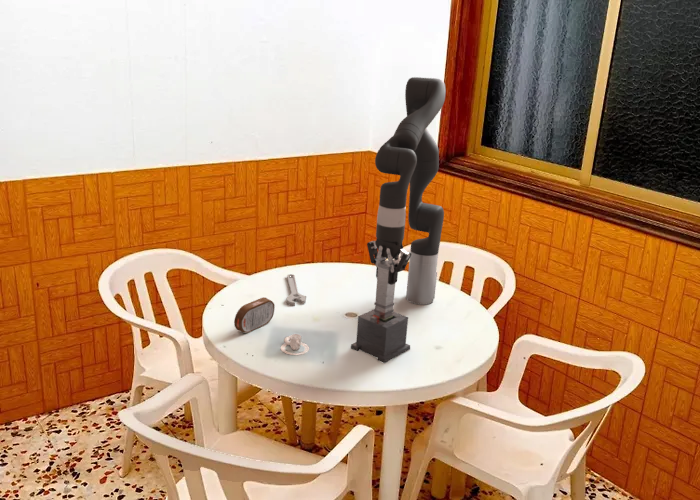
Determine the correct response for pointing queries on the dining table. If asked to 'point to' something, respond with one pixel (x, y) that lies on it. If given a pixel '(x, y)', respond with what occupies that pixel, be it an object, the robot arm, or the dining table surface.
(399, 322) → the housing
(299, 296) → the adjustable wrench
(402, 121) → the robot arm
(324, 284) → the dining table surface
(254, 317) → the tin
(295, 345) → the teacup and saucer
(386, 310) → the column
